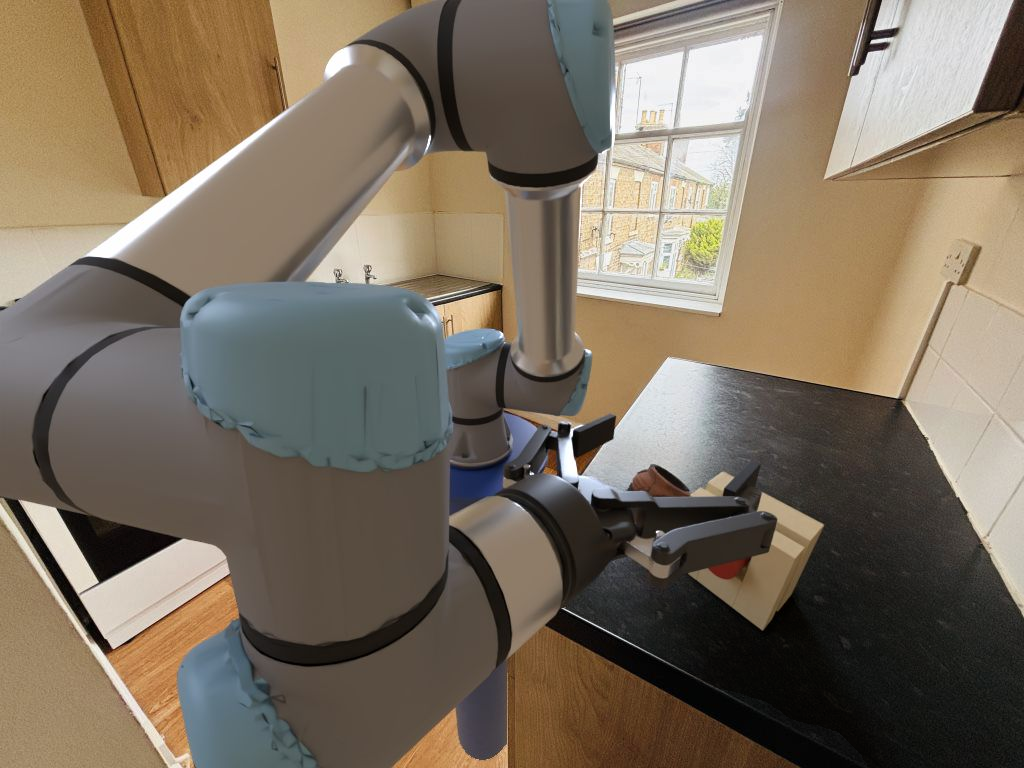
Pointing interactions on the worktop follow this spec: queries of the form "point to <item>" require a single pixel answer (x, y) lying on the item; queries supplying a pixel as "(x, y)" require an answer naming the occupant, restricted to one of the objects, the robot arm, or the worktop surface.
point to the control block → (764, 560)
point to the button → (729, 569)
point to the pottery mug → (658, 484)
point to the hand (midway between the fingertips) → (674, 448)
